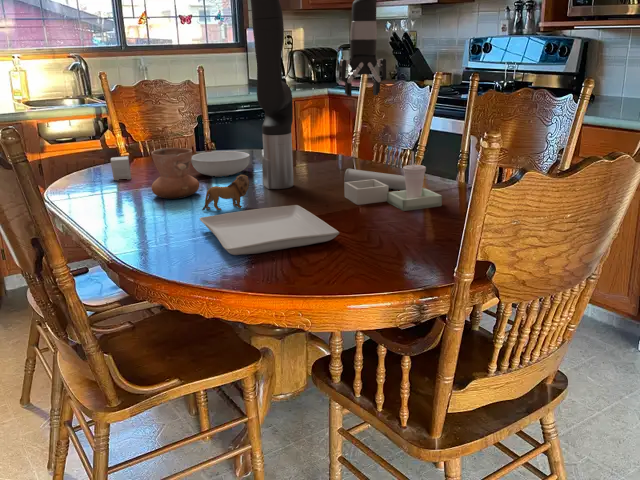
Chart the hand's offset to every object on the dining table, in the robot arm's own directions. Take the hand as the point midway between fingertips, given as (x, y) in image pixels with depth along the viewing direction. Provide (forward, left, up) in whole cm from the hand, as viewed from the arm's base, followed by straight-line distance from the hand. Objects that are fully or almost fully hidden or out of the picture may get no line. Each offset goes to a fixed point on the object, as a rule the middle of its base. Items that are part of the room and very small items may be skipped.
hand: (362, 95), depth 176 cm
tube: (+7, +1, -29) cm, 30 cm away
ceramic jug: (-55, +19, -29) cm, 65 cm away
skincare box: (-70, +53, -29) cm, 93 cm away
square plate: (-39, -32, -30) cm, 59 cm away
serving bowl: (-36, +44, -29) cm, 64 cm away
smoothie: (+7, -21, -28) cm, 36 cm away
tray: (+7, -21, -29) cm, 36 cm away
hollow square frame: (-3, -10, -29) cm, 31 cm away
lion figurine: (-43, -2, -29) cm, 52 cm away
